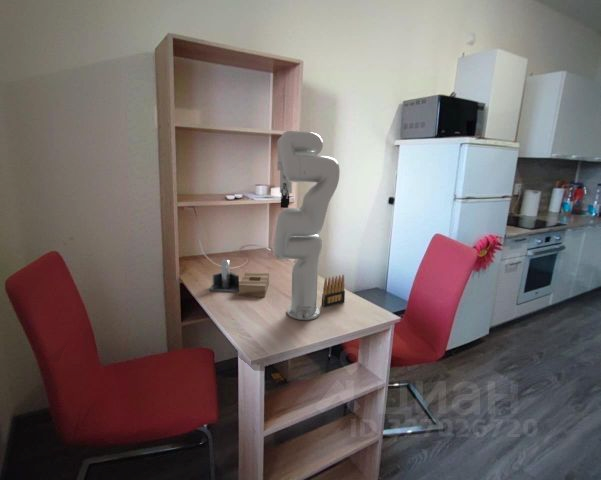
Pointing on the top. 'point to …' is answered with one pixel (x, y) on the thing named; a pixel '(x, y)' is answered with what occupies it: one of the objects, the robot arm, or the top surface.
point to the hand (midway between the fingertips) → (285, 206)
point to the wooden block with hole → (254, 284)
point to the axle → (225, 273)
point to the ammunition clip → (333, 291)
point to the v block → (218, 283)
